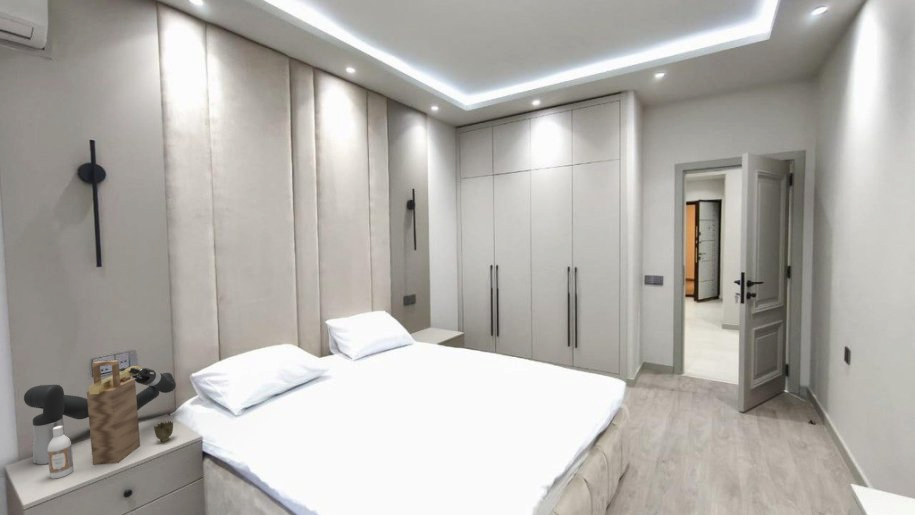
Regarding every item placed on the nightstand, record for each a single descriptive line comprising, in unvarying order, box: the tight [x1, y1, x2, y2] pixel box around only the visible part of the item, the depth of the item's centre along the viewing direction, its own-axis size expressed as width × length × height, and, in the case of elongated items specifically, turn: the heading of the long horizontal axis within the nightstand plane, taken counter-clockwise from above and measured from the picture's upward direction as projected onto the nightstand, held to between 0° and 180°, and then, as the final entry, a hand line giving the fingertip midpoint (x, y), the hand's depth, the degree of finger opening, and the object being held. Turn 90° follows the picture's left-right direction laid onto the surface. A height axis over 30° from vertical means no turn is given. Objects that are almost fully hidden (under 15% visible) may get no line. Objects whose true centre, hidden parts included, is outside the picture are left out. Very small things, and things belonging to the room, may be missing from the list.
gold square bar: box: [88, 365, 141, 394], centre depth 178 cm, size 4×26×4 cm, turn 7°
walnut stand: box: [86, 359, 141, 466], centre depth 176 cm, size 10×14×44 cm
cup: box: [153, 420, 174, 443], centre depth 189 cm, size 8×7×8 cm
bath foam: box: [48, 426, 74, 480], centre depth 163 cm, size 7×7×20 cm
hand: (126, 370), depth 185 cm, fingers closed on gold square bar, 3 cm apart
